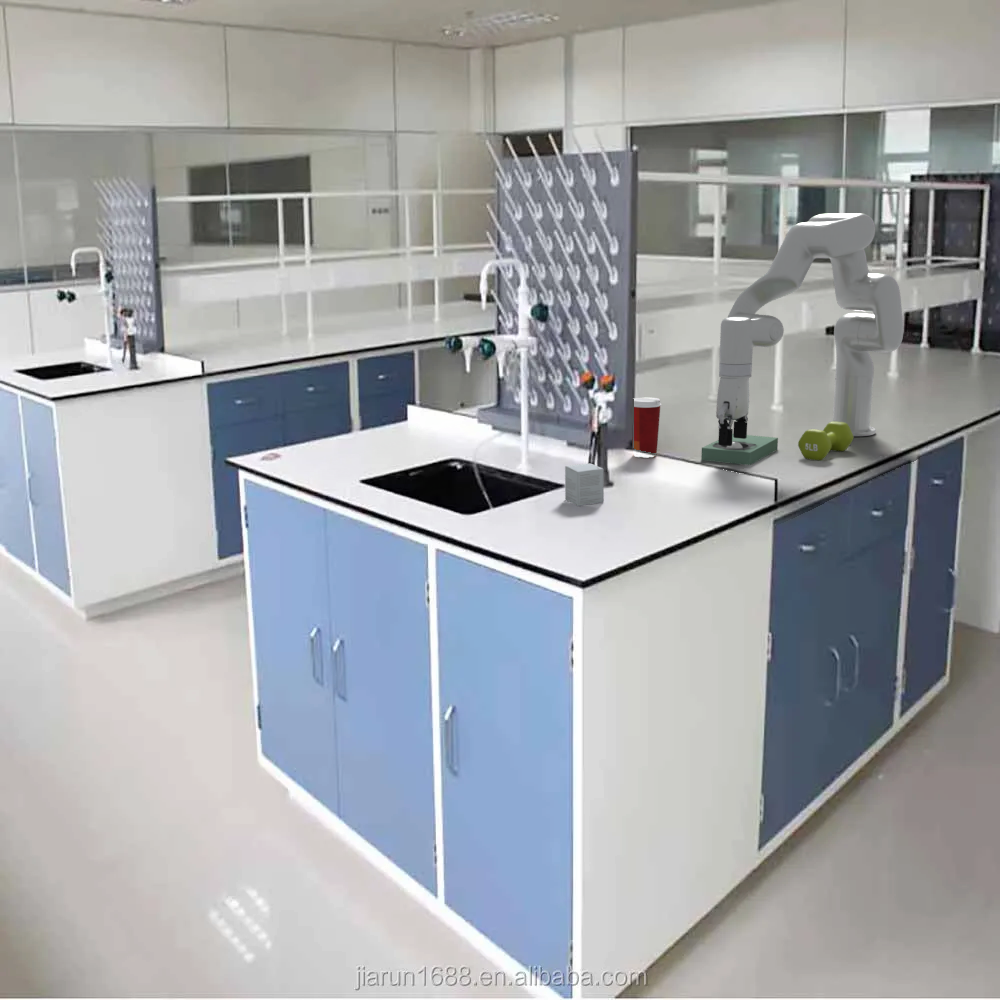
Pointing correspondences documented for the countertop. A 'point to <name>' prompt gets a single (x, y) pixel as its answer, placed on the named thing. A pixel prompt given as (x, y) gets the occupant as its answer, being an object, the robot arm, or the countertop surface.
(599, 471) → the product box
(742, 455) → the putting mat
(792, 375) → the countertop surface
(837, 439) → the dumbbell
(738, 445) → the ball
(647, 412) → the paper cup
